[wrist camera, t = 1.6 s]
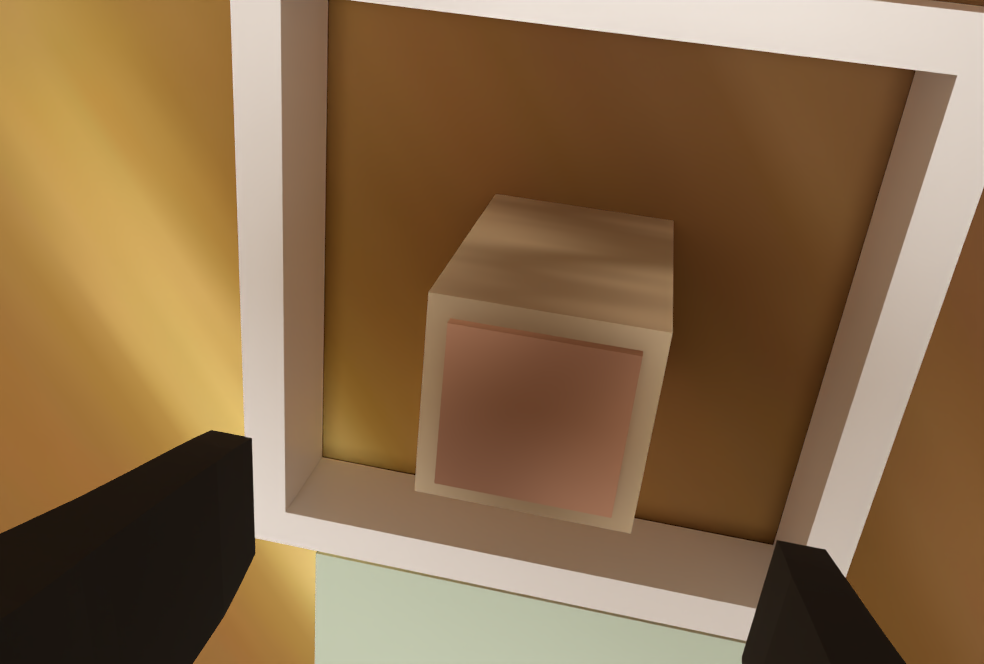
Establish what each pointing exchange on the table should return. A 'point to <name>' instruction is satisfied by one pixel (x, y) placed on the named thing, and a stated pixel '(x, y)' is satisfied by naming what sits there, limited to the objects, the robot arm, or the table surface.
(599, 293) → the birch block
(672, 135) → the table surface
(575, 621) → the sage tile
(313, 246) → the white bin
